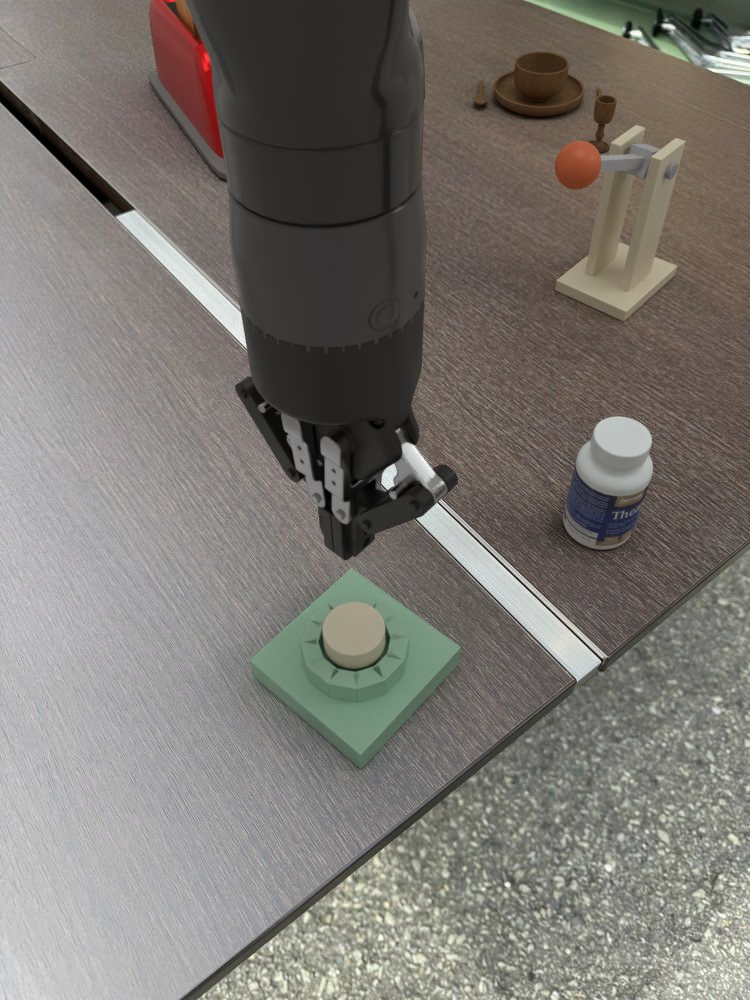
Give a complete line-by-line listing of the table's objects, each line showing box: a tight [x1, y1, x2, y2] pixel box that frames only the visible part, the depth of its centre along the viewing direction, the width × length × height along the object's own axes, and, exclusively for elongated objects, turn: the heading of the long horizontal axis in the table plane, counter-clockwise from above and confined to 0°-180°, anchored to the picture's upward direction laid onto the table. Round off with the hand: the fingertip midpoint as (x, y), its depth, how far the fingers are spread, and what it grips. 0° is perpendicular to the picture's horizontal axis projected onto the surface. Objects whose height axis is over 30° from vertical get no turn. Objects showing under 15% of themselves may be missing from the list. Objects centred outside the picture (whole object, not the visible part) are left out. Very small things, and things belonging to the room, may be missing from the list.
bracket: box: [554, 124, 687, 323], centre depth 80 cm, size 10×8×15 cm
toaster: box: [147, 0, 227, 181], centre depth 104 cm, size 32×13×19 cm, turn 26°
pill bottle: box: [562, 415, 654, 550], centre depth 62 cm, size 5×5×10 cm
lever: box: [554, 140, 662, 191], centre depth 71 cm, size 16×4×4 cm, turn 138°
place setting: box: [473, 51, 618, 154], centre depth 108 cm, size 18×20×6 cm
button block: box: [248, 567, 462, 770], centre depth 56 cm, size 10×10×4 cm
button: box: [322, 602, 385, 669], centre depth 54 cm, size 4×4×2 cm
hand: (347, 544), depth 47 cm, fingers closed
